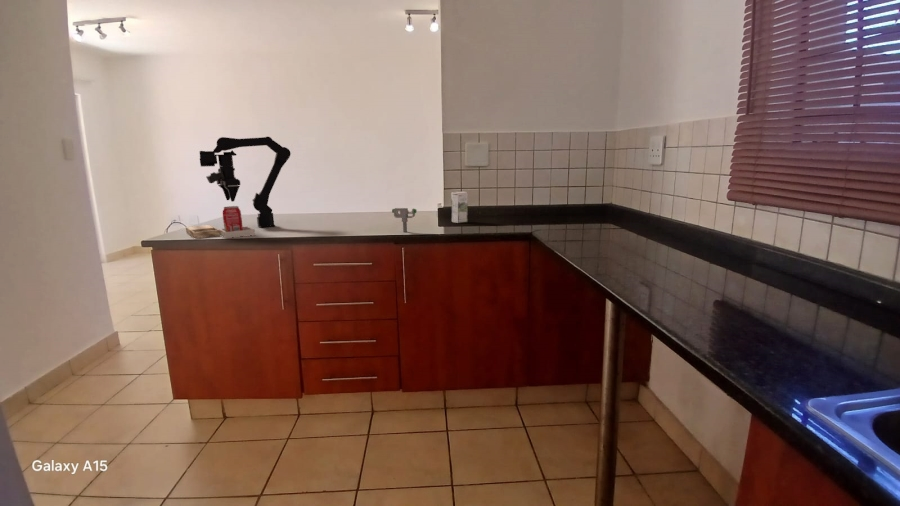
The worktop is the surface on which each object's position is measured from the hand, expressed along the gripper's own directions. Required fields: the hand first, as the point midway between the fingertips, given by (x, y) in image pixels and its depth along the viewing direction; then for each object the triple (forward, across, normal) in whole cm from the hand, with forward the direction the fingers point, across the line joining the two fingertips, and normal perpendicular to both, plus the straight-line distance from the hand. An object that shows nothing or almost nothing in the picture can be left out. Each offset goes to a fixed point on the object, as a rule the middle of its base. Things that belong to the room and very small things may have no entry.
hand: (230, 200), depth 213 cm
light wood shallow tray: (+13, +7, -14) cm, 20 cm away
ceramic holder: (+13, +20, -3) cm, 24 cm away
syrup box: (+13, +56, +89) cm, 106 cm away
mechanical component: (+13, +63, +54) cm, 84 cm away
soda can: (+13, +19, -4) cm, 24 cm away
